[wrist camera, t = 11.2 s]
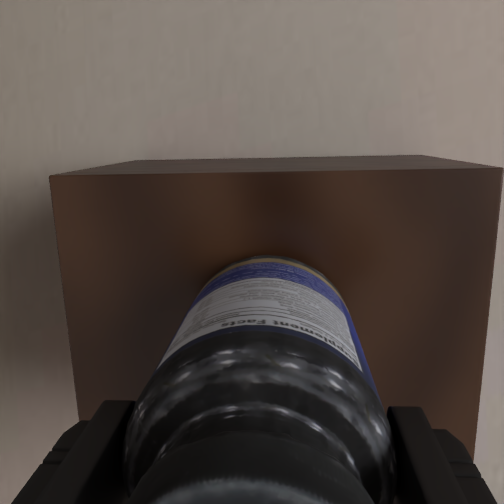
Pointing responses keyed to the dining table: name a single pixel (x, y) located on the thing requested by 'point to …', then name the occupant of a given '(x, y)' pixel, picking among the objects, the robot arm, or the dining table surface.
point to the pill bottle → (261, 399)
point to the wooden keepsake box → (292, 246)
